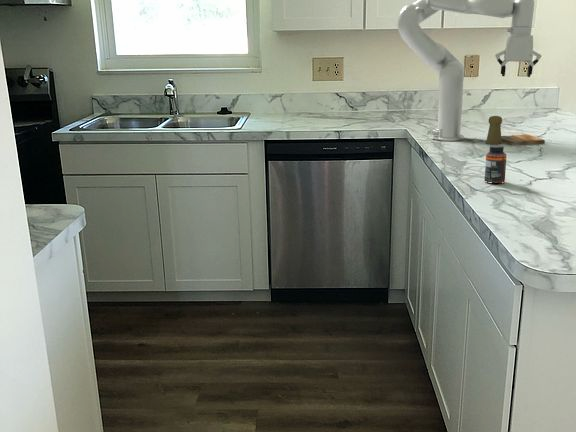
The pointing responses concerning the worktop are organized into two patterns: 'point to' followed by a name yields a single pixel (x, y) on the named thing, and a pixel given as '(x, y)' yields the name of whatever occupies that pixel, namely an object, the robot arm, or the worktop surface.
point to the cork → (494, 131)
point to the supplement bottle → (495, 164)
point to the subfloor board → (521, 140)
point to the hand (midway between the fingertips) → (515, 76)
